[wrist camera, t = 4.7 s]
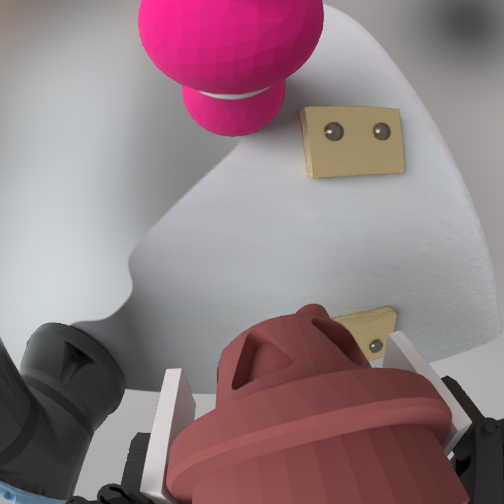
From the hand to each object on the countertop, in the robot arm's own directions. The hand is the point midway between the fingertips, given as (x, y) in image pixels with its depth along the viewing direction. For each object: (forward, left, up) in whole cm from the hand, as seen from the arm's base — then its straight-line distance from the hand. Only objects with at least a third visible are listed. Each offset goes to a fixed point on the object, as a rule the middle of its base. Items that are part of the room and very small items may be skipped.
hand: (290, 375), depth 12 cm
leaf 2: (+9, +10, -15) cm, 20 cm away
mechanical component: (0, 0, -2) cm, 2 cm away
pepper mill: (-1, +15, -15) cm, 21 cm away
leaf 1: (+9, -11, -15) cm, 20 cm away
